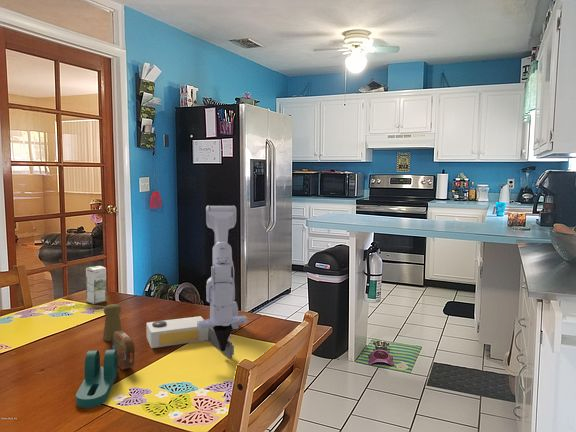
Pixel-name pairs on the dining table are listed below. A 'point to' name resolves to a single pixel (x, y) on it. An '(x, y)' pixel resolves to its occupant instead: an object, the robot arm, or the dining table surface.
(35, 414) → the dining table surface
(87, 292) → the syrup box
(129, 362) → the brown rounded piece
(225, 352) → the side door
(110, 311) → the olive flared pepper mill
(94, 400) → the bracket
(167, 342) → the camera housing
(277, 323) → the dining table surface
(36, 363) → the dining table surface
